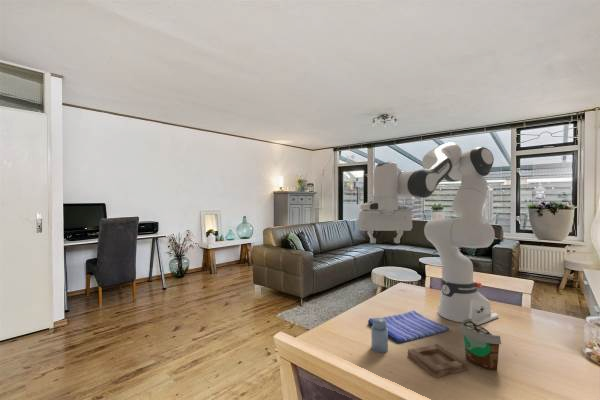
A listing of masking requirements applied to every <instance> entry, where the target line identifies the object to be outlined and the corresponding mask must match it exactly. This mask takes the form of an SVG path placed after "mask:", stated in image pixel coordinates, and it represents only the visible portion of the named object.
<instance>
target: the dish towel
mask: <svg viewBox="0 0 600 400" xmlns="http://www.w3.org/2000/svg"><path fill="white" fill-rule="evenodd" d="M374 318H375V317H373V318H369V319H368V320H367V323H368V324H369V326H371V327H372V326H373V319H374ZM382 318H383V319H385V320H386V327H387V328H388V339H390V340H392V341H393V342H395V343H397V344H400V343H404V342H405V343H406V342H411V341H415V340H418V339H422V338H426V337H430V336H435V335H438V334H442V333H444V332H446V331H449V330H450V328H449V327H447V326H445V325H443V324H441V323H438V322H437V321H434V320H432V319H429V318H427V317H425V316H423V315H422V314H420V313H418V312H417V311H415V310H411V311H408V312H405V313H401V314H394V315H389V316H384V317H382Z"/></svg>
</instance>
